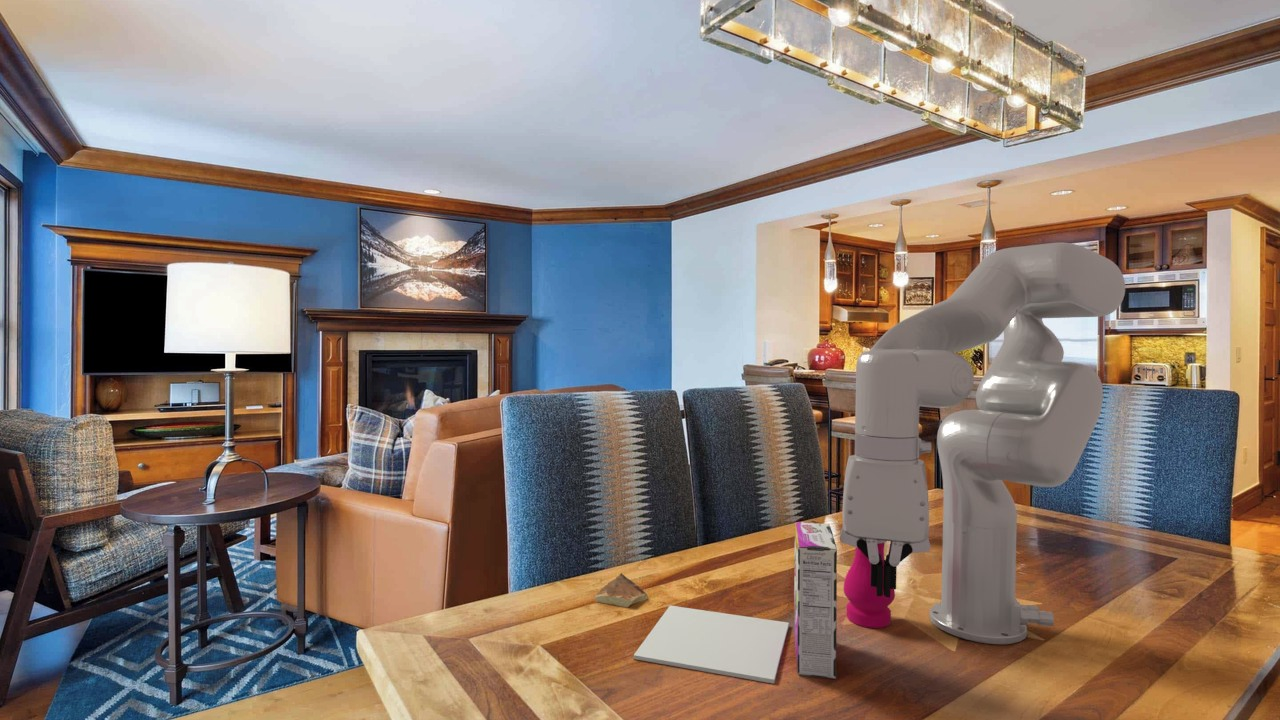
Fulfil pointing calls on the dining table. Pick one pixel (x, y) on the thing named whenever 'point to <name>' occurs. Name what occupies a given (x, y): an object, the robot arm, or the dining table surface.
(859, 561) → the pepper mill
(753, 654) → the pale gray mat
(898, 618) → the dining table surface
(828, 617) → the candy bar box
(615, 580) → the shard
